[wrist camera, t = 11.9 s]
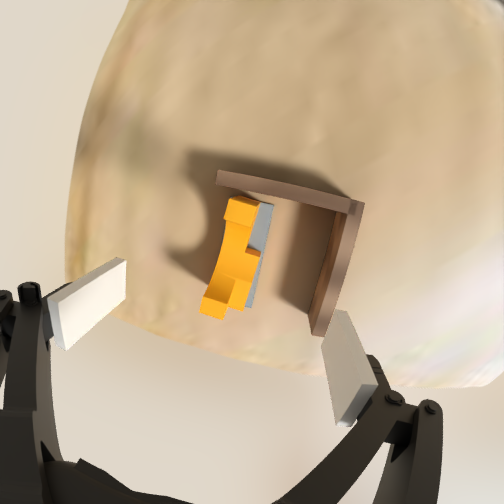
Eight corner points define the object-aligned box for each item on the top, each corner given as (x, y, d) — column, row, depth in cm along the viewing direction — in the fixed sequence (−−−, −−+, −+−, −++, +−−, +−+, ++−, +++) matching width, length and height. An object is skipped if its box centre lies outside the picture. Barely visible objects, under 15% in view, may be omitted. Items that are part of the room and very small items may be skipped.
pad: (231, 196, 31) (230, 196, 31) (273, 205, 31) (273, 205, 31) (213, 298, 35) (212, 299, 34) (251, 307, 34) (251, 308, 34)
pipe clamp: (245, 299, 34) (238, 325, 28) (212, 289, 34) (199, 312, 28) (275, 206, 31) (275, 212, 24) (239, 195, 31) (229, 198, 25)
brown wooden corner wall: (227, 171, 30) (217, 169, 26) (351, 199, 30) (365, 202, 25) (206, 292, 34) (195, 310, 30) (318, 316, 34) (324, 337, 29)
